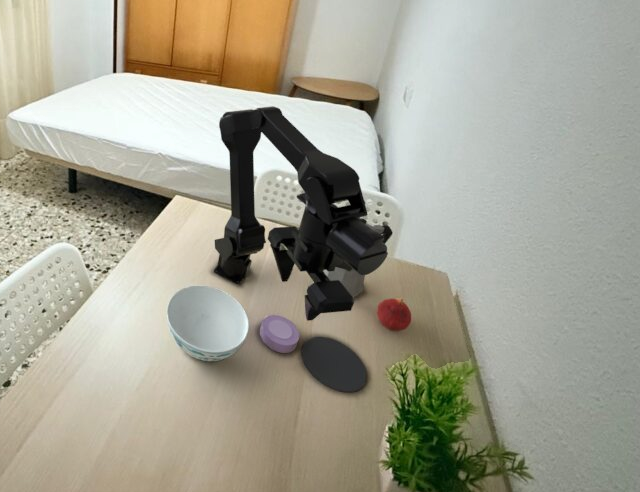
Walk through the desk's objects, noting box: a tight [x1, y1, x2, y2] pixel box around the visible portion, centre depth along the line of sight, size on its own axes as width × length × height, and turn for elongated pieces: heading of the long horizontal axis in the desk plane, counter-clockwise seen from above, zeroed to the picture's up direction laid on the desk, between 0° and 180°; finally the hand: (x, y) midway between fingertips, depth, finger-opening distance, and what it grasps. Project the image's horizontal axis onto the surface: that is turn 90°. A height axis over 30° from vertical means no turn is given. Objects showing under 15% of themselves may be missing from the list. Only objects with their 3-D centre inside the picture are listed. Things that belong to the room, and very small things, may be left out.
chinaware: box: [166, 284, 250, 362], centre depth 76 cm, size 15×15×8 cm
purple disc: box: [259, 314, 300, 354], centre depth 79 cm, size 7×7×2 cm
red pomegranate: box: [376, 296, 412, 332], centre depth 81 cm, size 6×6×8 cm
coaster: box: [301, 336, 368, 393], centre depth 75 cm, size 11×11×1 cm
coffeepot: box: [323, 217, 393, 298], centre depth 90 cm, size 15×9×18 cm, turn 101°
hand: (296, 299), depth 75 cm, fingers open, 9 cm apart
